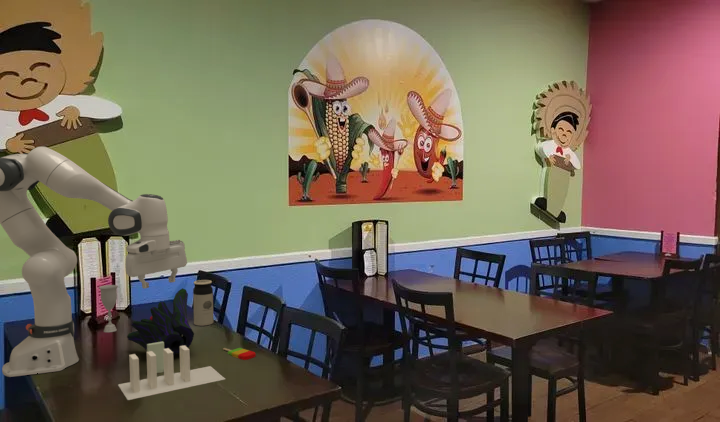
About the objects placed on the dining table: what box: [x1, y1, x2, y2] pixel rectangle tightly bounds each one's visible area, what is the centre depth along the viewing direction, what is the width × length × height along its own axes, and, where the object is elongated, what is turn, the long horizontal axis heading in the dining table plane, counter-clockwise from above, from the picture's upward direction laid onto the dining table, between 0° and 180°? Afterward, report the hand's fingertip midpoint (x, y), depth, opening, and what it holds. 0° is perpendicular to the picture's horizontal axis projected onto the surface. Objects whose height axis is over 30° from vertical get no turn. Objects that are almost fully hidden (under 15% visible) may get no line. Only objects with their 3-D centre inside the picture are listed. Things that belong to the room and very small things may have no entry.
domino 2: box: [146, 341, 164, 374], centre depth 187 cm, size 2×5×10 cm, turn 124°
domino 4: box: [163, 348, 175, 385], centre depth 178 cm, size 2×5×10 cm, turn 33°
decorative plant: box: [126, 288, 195, 356], centre depth 210 cm, size 21×26×30 cm
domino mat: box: [117, 365, 226, 401], centre depth 179 cm, size 29×14×1 cm, turn 124°
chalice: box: [99, 284, 119, 333], centre depth 234 cm, size 7×7×18 cm
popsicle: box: [222, 347, 257, 361], centre depth 206 cm, size 6×15×2 cm, turn 52°
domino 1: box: [128, 353, 140, 393], centre depth 172 cm, size 2×5×10 cm, turn 33°
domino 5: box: [179, 345, 191, 382], centre depth 181 cm, size 2×5×10 cm, turn 34°
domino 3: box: [146, 351, 158, 389], centre depth 175 cm, size 2×5×10 cm, turn 34°
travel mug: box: [192, 279, 214, 327], centre depth 245 cm, size 8×8×18 cm
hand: (159, 285), depth 191 cm, fingers open, 8 cm apart
